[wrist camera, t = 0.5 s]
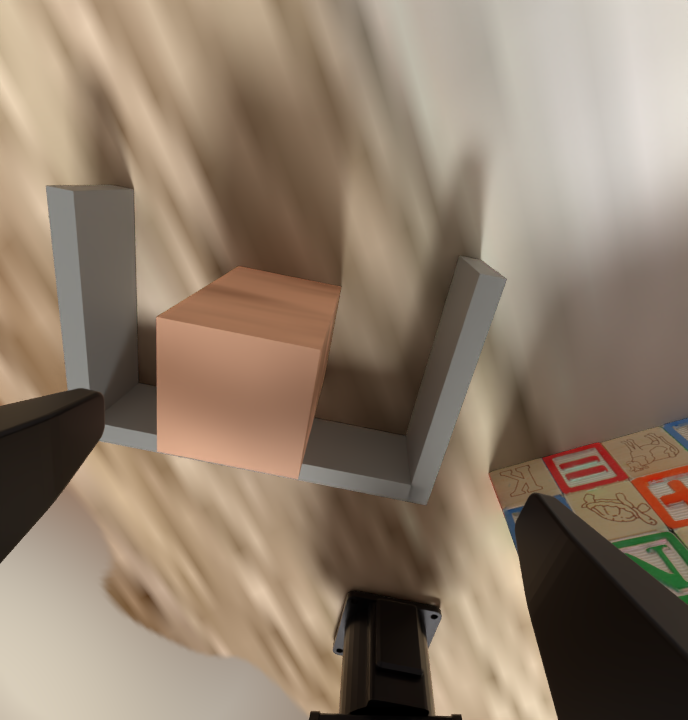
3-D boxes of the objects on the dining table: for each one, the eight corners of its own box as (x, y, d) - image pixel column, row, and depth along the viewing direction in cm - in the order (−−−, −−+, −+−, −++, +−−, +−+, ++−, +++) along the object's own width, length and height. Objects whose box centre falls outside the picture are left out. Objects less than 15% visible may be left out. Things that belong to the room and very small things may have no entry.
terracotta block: (324, 378, 22) (297, 479, 14) (231, 359, 21) (157, 451, 14) (341, 286, 19) (320, 349, 12) (238, 265, 19) (156, 316, 12)
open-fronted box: (418, 453, 23) (426, 505, 19) (121, 394, 23) (72, 435, 19) (480, 259, 18) (507, 279, 15) (111, 184, 18) (46, 185, 15)
